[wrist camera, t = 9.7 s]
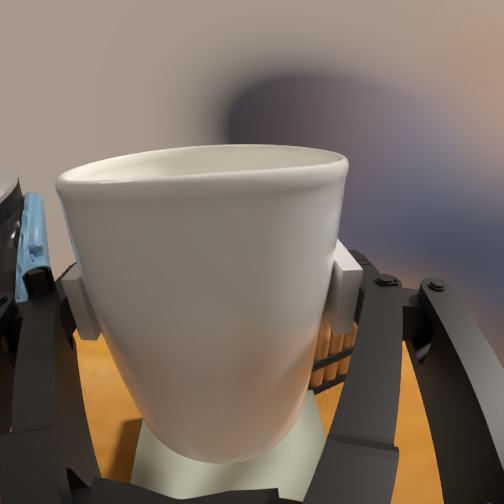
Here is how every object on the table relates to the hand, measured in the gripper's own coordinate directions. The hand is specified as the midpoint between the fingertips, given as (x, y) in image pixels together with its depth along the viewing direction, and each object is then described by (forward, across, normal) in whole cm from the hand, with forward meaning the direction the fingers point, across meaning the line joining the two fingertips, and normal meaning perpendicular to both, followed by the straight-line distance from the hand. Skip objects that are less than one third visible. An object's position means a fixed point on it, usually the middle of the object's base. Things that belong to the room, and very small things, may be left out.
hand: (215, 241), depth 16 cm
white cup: (-5, 0, -7) cm, 8 cm away
